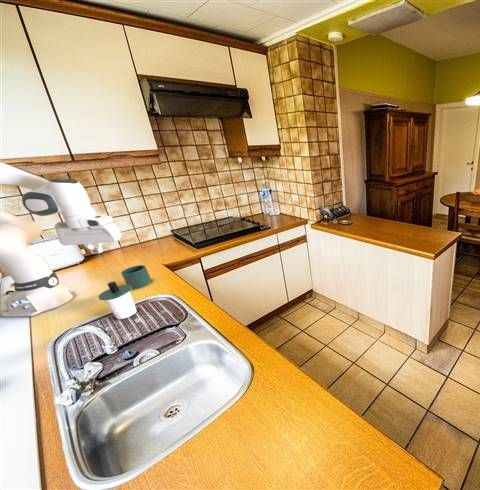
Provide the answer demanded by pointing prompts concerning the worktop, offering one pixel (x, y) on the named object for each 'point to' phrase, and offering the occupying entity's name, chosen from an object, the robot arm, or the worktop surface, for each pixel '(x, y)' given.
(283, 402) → the worktop surface
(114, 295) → the lid
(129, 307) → the white cup
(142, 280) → the pot
